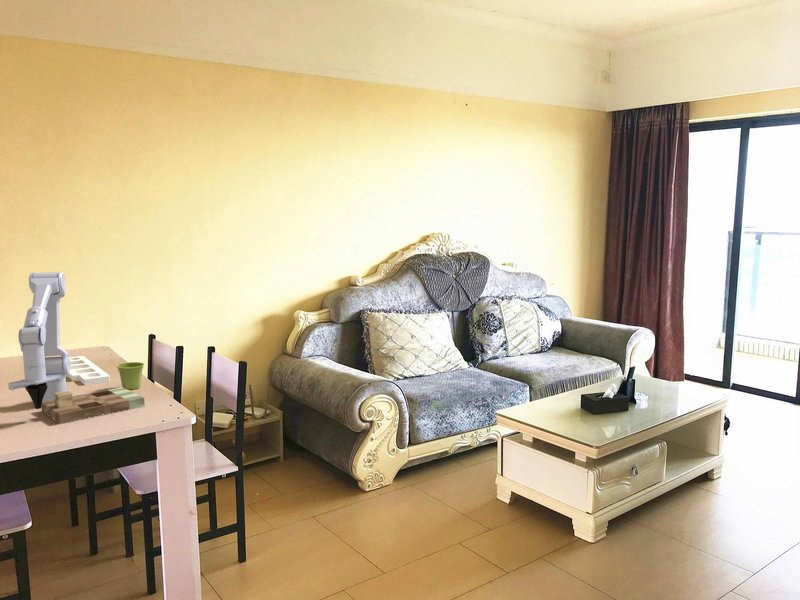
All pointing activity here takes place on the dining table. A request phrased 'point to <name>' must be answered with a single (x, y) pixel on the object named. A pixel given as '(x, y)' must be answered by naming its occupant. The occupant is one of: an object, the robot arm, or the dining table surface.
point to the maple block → (63, 399)
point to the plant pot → (130, 374)
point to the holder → (86, 371)
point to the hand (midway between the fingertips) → (37, 408)
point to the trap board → (94, 404)
